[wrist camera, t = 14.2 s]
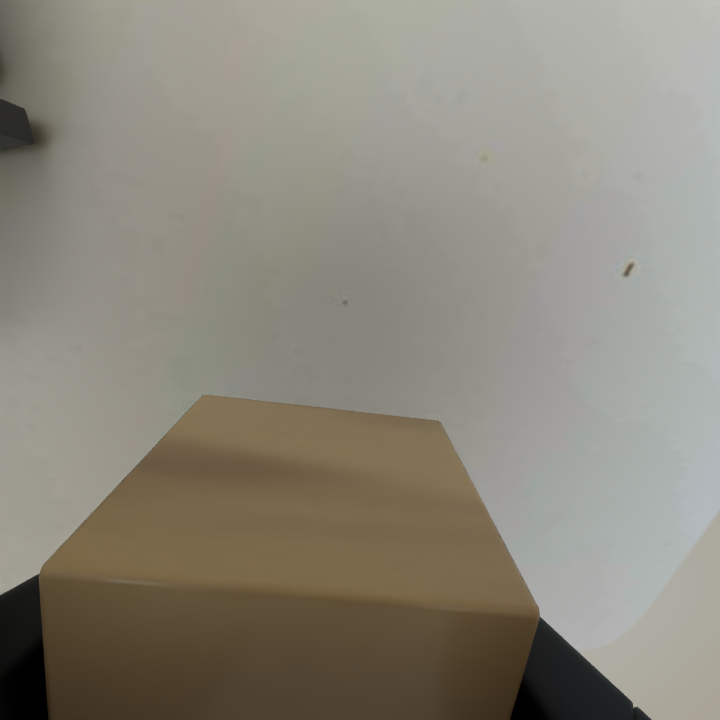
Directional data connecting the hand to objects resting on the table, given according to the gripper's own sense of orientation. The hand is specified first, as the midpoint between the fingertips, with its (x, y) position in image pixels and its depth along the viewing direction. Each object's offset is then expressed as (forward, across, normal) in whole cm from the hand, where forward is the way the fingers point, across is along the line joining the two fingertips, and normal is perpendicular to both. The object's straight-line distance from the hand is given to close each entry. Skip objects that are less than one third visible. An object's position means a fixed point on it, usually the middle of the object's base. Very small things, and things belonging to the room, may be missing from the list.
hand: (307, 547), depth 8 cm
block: (+1, 0, 0) cm, 1 cm away
